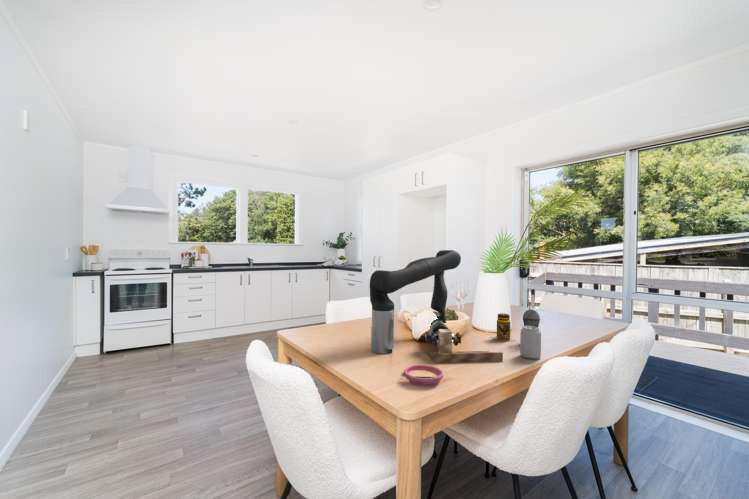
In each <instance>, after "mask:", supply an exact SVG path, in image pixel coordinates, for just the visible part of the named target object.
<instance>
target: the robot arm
mask: <svg viewBox="0 0 749 499" xmlns="http://www.w3.org/2000/svg"><path fill="white" fill-rule="evenodd" d="M461 262H462V257H461V254H460V253H459V252H458V251H456V250H454V249H453V250H452V249H446V250H445V249H443V250H439V251H438V252H436V254H435V256H431V257H424V258H419V259H415V260H413V261H410V262H408V264H406V266H405V267H404V268H402V269H398V270H394V271H393V270H383V269H382V270H380V269H378V270H377V269H376V270H375V271H373V272H372V274H371V276H370V279H369V300H370V304H371V325H370V350H371V353H372V354H382V355H384V354H385V355H387V354H391V353H393V349H394V348H395V345H394V344H395V342H394V341H395V340H394V339H395V336H394V334H395V303H394V302H393V300H391V299H390V297H389V294H393V293H396V292H397V291H399V290H401V289H402V288H404V287H406V286H408V285H411V284H412V285H413V283H417V282H420V281H423V280H425V279H428V278H430V277H433V276H434V278H433V291H432V296H431V302H430V309H431V310H433V311H435V312H437V313H438V314H439V315H436V316H437V318H438V319H436V320H434V321H433V322H432V323H431V326H430V330H429V331H425V332H424V340H425V341H426V343H432V344H433V345H435V346H437V345H438V343H439V329H449V327H448V326H447V316H446V307H447V300H448V290H447V285H446V282H445V277H444V276H445V272H446V271H449V270H453V269H456V268H458V267H459V266H460V264H461ZM444 323H446V325H445V324H444ZM461 343H462V335H461V334H460V332H456V333H455V334H453V333H452V345H453V346H455V347H458V345H459V344H461Z"/></svg>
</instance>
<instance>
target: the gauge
mask: <svg viewBox="0 0 749 499" xmlns="http://www.w3.org/2000/svg"><path fill="white" fill-rule="evenodd" d="M452 334H453V331H452V330H451V329H450V328H448V329H439V343H438V342H437V345H438V347H437V348H438V350H437V352H438V353H452V352H453V343H452Z"/></svg>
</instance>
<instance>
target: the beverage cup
mask: <svg viewBox="0 0 749 499" xmlns="http://www.w3.org/2000/svg"><path fill="white" fill-rule="evenodd" d="M530 302H531V301H530V299H528V308H529V309H527V310H525V312H523V315H522V320H523V326H535V327H538V328H539V325H540V322H541V321H540V320H541V317H540V315H539V313H538V311H537V310H535V309H531V303H530Z"/></svg>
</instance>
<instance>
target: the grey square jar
mask: <svg viewBox="0 0 749 499" xmlns="http://www.w3.org/2000/svg"><path fill="white" fill-rule="evenodd" d="M519 334H520V339H519V342H520V344H519V348H520V349H519V354H520V355H521V356H522V357H523V358H525V359H528V360H538V359H539V358H541V355H542V331H541V330H540V327H539V326H538V327H535V326H524V325H522V328H521V329H520V333H519Z"/></svg>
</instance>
